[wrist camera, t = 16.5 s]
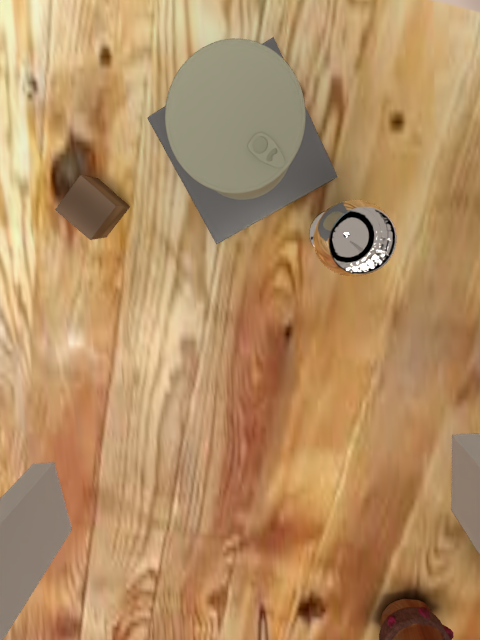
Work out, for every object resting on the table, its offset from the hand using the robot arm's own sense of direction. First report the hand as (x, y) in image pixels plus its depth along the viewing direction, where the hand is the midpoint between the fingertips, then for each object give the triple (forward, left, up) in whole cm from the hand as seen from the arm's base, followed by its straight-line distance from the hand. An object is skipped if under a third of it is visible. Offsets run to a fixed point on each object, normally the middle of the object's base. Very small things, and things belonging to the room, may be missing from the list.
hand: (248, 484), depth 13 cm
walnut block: (+9, -15, -29) cm, 34 cm away
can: (-6, -13, -28) cm, 32 cm away
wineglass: (-10, -2, -29) cm, 31 cm away
